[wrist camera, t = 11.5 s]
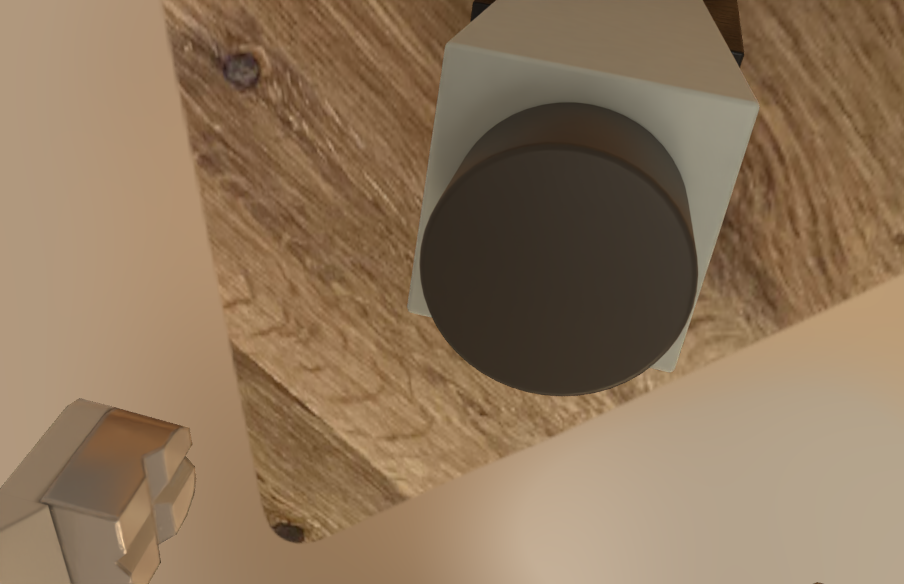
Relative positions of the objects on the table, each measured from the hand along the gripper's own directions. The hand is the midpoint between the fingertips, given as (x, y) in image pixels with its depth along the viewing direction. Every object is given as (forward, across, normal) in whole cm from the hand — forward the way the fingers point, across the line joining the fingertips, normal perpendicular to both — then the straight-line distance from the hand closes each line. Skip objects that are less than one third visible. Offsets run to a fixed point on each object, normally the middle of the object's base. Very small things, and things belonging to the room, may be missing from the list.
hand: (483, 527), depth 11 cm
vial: (+9, 0, -4) cm, 10 cm away
